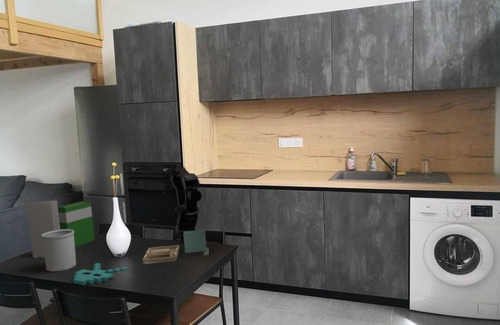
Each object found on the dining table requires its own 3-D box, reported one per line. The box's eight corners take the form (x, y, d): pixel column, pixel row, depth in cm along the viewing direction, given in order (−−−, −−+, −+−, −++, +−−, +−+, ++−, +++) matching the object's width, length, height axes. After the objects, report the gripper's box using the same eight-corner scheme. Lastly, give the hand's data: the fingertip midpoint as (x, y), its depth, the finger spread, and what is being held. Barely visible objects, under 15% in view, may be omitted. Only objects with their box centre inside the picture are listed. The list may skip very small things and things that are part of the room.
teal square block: (185, 252, 219) (183, 231, 218) (206, 250, 220) (205, 229, 219) (185, 253, 216) (183, 233, 215) (206, 251, 217) (204, 231, 216)
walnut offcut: (149, 256, 209) (149, 253, 209) (169, 254, 211) (169, 251, 210) (148, 259, 205) (148, 256, 205) (169, 256, 206) (169, 254, 206)
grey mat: (184, 250, 223) (184, 250, 223) (208, 248, 224) (208, 247, 224) (182, 257, 212) (182, 256, 212) (208, 255, 213) (208, 254, 213)
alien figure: (97, 267, 207) (63, 282, 190) (97, 263, 207) (62, 277, 189) (128, 272, 198) (94, 288, 180) (127, 267, 198) (94, 283, 180)
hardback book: (86, 239, 262) (82, 201, 259) (94, 240, 258) (90, 201, 255) (61, 247, 246) (56, 207, 244) (69, 248, 243) (65, 207, 240)
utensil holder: (64, 260, 221) (60, 227, 219) (84, 263, 214) (80, 229, 212) (38, 270, 208) (34, 235, 206) (58, 273, 201) (54, 237, 199)
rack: (149, 253, 223) (148, 247, 223) (179, 250, 224) (179, 245, 224) (142, 266, 203) (142, 260, 203) (176, 262, 204) (175, 257, 204)
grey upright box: (63, 253, 234) (56, 200, 231) (57, 256, 228) (51, 202, 225) (39, 254, 235) (32, 201, 232) (33, 257, 230) (26, 203, 227)
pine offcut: (153, 253, 210) (153, 250, 209) (169, 251, 210) (169, 248, 209) (152, 255, 206) (151, 252, 205) (168, 254, 206) (168, 251, 205)
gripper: (176, 196, 224) (179, 225, 225) (173, 203, 205) (176, 234, 207) (197, 195, 225) (200, 223, 226) (196, 201, 206) (199, 232, 208)
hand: (193, 228), depth 217 cm, fingers open, 9 cm apart
